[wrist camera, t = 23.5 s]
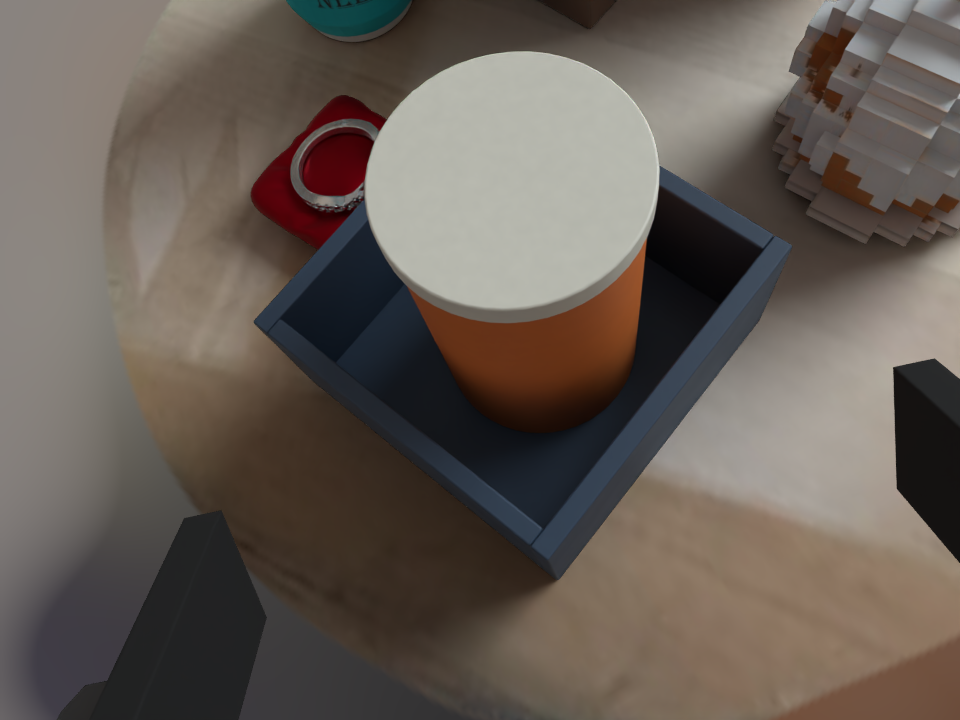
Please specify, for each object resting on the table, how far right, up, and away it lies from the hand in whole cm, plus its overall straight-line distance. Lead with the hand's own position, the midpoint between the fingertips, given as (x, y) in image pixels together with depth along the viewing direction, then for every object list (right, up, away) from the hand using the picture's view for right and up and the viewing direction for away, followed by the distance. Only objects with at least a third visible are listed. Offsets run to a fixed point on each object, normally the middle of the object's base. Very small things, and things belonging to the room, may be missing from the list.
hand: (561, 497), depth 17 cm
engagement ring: (-6, +9, +17) cm, 20 cm away
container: (+1, +3, +13) cm, 13 cm away
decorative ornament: (+13, +10, +14) cm, 22 cm away
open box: (0, +3, +14) cm, 14 cm away
